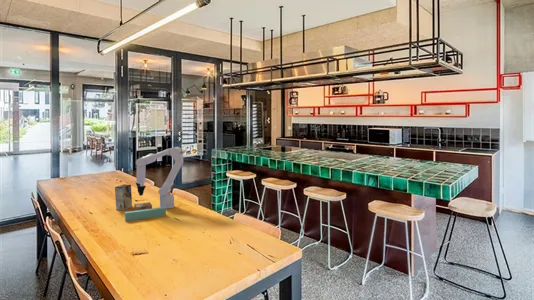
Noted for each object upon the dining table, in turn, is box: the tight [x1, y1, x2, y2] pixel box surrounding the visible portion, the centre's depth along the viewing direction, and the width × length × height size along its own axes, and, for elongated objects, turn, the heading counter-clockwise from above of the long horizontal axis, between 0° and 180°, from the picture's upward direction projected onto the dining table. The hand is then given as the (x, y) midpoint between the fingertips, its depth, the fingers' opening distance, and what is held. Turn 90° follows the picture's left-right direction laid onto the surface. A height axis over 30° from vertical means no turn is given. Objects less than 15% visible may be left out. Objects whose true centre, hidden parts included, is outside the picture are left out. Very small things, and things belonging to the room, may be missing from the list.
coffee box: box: [114, 183, 133, 211], centre depth 215 cm, size 9×6×16 cm
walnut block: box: [133, 202, 153, 211], centre depth 209 cm, size 10×8×5 cm
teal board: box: [124, 207, 167, 222], centre depth 196 cm, size 24×3×5 cm, turn 118°
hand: (140, 194), depth 217 cm, fingers open, 7 cm apart
